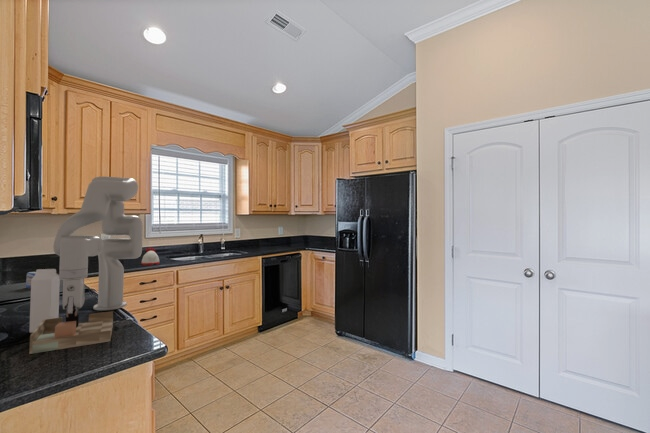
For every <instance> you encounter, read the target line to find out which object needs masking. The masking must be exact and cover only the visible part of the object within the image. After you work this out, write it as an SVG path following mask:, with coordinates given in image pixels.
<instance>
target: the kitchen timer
mask: <svg viewBox="0 0 650 433" xmlns="http://www.w3.org/2000/svg"><path fill="white" fill-rule="evenodd" d="M145 251H146V253H145V254H144V255H143V256H142V259H141V263H140V264H141V265H143V266H154V265H153V264H156V265H159V264H160V257H159V255H158V254H157V253H156V251H157V249H155V248H153V247H146V249H145Z"/></svg>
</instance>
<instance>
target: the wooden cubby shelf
mask: <svg viewBox="0 0 650 433" xmlns="http://www.w3.org/2000/svg"><path fill="white" fill-rule="evenodd" d="M61 322H63V316H61V317H60V316H59V317H58V318H51V319H44V320H43V321H42V322H41V323H40V324H39V326H38V327H37V328H36V329H35V330H34V332H31V333H30V336H29V352H28V353H29V355H30V354H32V355H33V354H37V353H44V352H49V351H51V352H53V351H55V350H56V351H58V350H63V349H69V348H75V347H76V348H77V347H83V346H88V345H95V344H101V343H107V342H111V339H112V332H113V327H114V325H113V324H114V323H113V322H114V310H113V311H112V310H111V311H103V312H97V313H96V312H95V313H89V314H88V322H78V327H77V328H76V333H75V335H74V336H67V337H60V338H55V326H56V325H57V324H58V323H61Z"/></svg>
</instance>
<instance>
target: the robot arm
mask: <svg viewBox="0 0 650 433" xmlns="http://www.w3.org/2000/svg"><path fill="white" fill-rule="evenodd" d="M138 190H139V185H138V182H137V180H136V179H134V178H131V177H117V176H116V177H115V176H96V177H93V178H92V180H91V182H90V183H89V184H88V186H87V188H86V192H85V193H84V194H85V195H84V198H83V201H82V204H81V208H80V209H79V211H77V212H75V213H74V214H72V215H70V216H69V217H67V219H66V220H64V221H63V222H62V223H61V224H60V225H59V227H58V229H57V232H56V235H55V238H54V240H53V246H52V247H53V249H52V250H53V252H54V254H55V255H57V256H59V268H58V269H59V273H58V275H59V279H60V281H63V282H62V284H63V285H62V310H64V311H66V313H65V314H66V316H65V322H70V321H76V328H77V327H78V324H79V321H80V320H79V318H80V316H79V309H81V308H83V306H84V304H85V279H87V278H88V274H89V272H88V271H89V270H88V268H89V257H96V256H97V258H98V286H97V287H98V288H97V289H98V290H97V296H98V297H97V303H96V304H94V305H93V310H94V311H103V312H106V311H112V310H113V311H114V310H118V309H122V308H124V307H126V306H127V305H128V302H126V301H124V284H125V283H124V282H125V281H124V278H125V277H124V276H125V275H124V273H125V272H124V271H125V268H124V266H123V264H122V263H121V261H120V260H130V259H132V260H134V259H138V258H139V257H141V255H142V252H143V220H142V219H141V217H139V216H137V215H131V214H130V215H126V214H125V204H124V202H127V201H130V200H131V199H133V198H134V197H135V196H136V195H137V193H138ZM97 222H101V231H102V233H103V234H104V235H106V236H115V237H116V238H115V237H113V238H111V237H110V238H103V239H102V238H101V237H99V236H96V235H73V233H74V232H76V231H77V230H78V229H81V228H83V227H85V226H87V225H91V224H94V223H97ZM117 236H123V237H124V236H125V237H127V236H128V237H129V238H119V237H118V238H117Z"/></svg>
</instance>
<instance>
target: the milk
mask: <svg viewBox="0 0 650 433" xmlns="http://www.w3.org/2000/svg"><path fill="white" fill-rule="evenodd" d="M35 272H36V274H35V276H34V277H33V278H32V279H31V288H30V303H29V304H30V308H29V333H33V332H34V330H35V329H36V328H37V327H38V326H39V324H40V323H41V322H42V321H43V320H44V319H51V318H60V316H59V315H60V312H59V310H60V287H61V286H60V284H61V283H60V282H61V280H60V279H59V273H57V269H56V268H45V269H44V268H43V269H42V268H39V269H36V270H35Z"/></svg>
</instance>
